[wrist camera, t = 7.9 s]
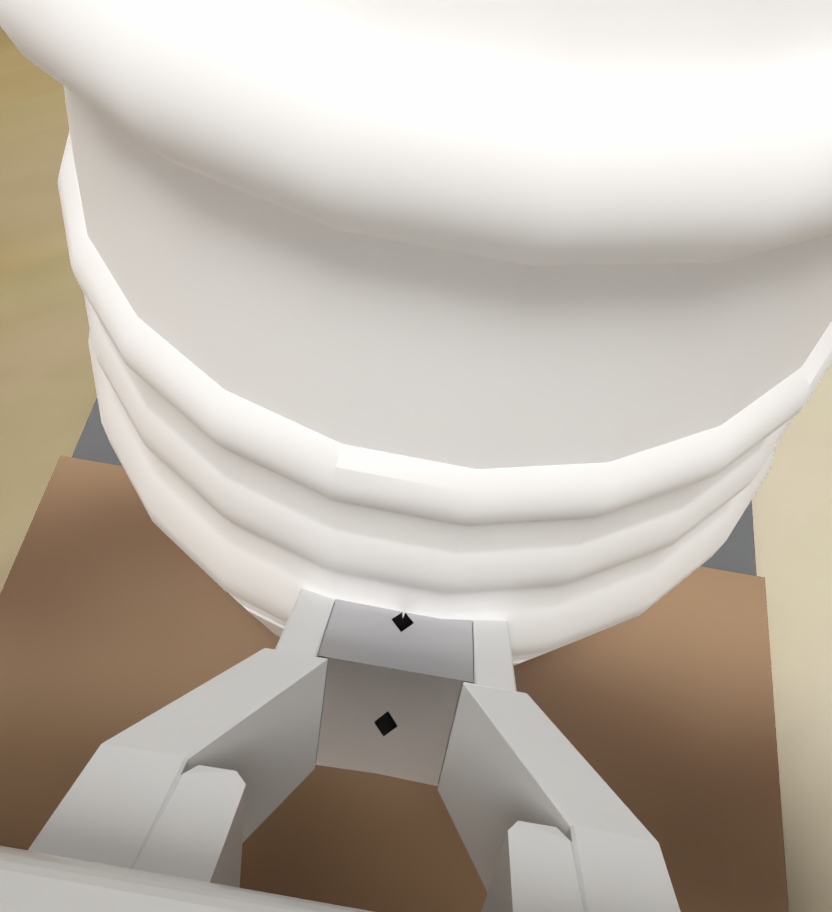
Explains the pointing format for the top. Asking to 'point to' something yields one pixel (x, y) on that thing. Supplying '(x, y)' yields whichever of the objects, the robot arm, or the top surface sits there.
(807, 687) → the top surface
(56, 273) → the top surface
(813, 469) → the top surface
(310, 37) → the honey pot
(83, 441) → the trivet mat
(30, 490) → the top surface
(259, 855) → the cutting board
